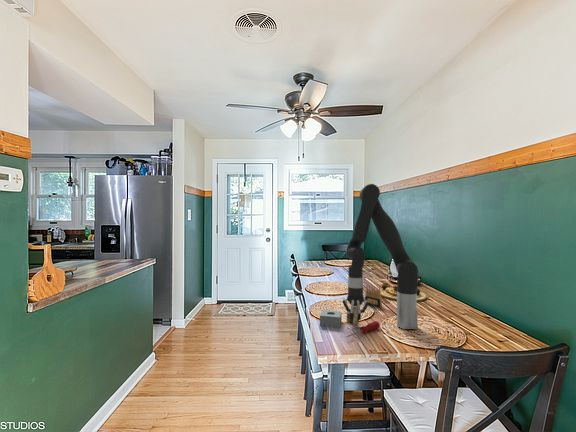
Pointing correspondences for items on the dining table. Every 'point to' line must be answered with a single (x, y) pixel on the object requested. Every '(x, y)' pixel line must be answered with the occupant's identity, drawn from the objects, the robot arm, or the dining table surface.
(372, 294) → the ammunition clip
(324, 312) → the block
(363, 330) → the screwdriver
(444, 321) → the dining table surface
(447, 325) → the dining table surface
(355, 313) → the birch dowel
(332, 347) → the dining table surface
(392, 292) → the wooden plate with food
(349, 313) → the walnut stub
